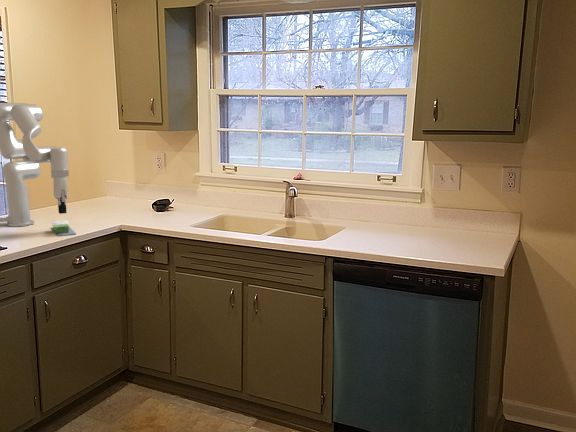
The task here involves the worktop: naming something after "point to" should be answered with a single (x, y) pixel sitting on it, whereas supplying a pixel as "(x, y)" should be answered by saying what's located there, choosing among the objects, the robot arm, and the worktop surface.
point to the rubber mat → (65, 233)
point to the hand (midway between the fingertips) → (62, 213)
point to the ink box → (60, 227)
